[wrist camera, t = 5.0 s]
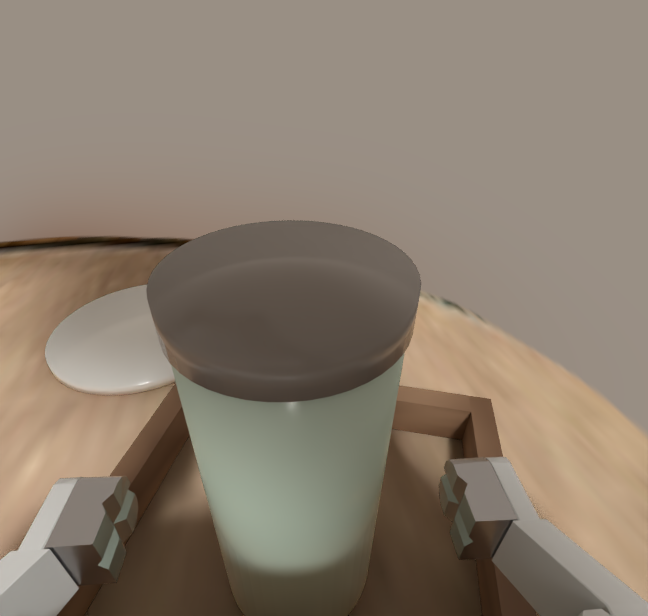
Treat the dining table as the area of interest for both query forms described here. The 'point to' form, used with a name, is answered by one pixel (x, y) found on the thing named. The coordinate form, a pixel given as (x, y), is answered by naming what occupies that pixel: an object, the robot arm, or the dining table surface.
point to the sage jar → (289, 398)
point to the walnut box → (410, 415)
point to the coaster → (109, 347)
